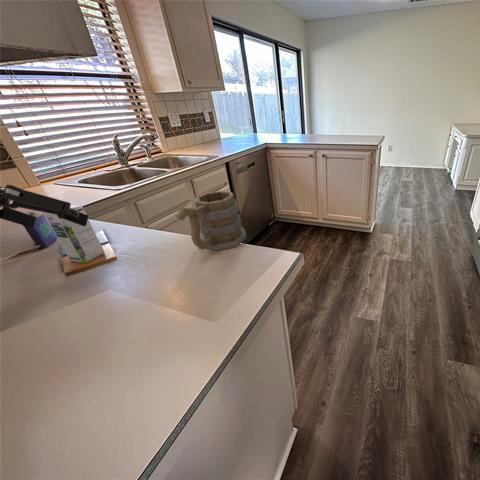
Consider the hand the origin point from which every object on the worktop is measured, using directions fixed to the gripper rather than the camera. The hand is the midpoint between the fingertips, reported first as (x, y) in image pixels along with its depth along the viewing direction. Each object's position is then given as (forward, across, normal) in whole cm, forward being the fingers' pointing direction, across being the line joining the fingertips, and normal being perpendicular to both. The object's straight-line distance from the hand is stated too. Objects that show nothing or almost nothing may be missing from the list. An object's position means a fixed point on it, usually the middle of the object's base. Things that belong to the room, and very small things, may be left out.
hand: (59, 221), depth 66 cm
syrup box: (+10, 0, +7) cm, 12 cm away
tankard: (+15, -34, +3) cm, 37 cm away
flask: (+19, +23, 0) cm, 29 cm away
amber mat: (+11, 0, +8) cm, 13 cm away
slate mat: (+17, +9, +1) cm, 19 cm away
